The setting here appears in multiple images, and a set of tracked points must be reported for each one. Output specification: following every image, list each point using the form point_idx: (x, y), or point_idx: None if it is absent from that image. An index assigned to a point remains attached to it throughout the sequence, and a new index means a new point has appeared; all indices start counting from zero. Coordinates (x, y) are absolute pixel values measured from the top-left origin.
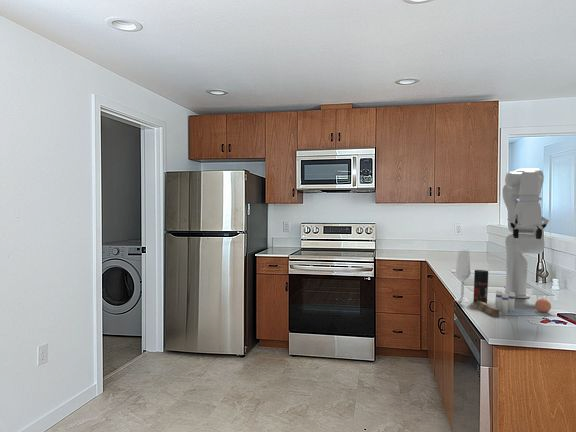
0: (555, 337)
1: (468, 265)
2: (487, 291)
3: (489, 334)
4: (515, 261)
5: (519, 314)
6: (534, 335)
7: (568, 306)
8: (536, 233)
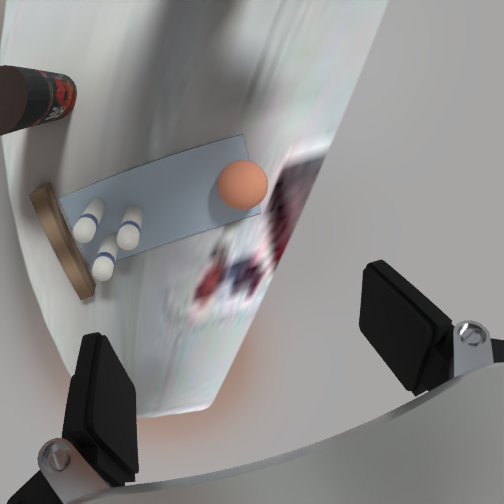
0: (195, 388)
1: None
2: (61, 100)
3: None
4: None
5: (153, 240)
6: (160, 390)
7: (356, 62)
8: (398, 309)
